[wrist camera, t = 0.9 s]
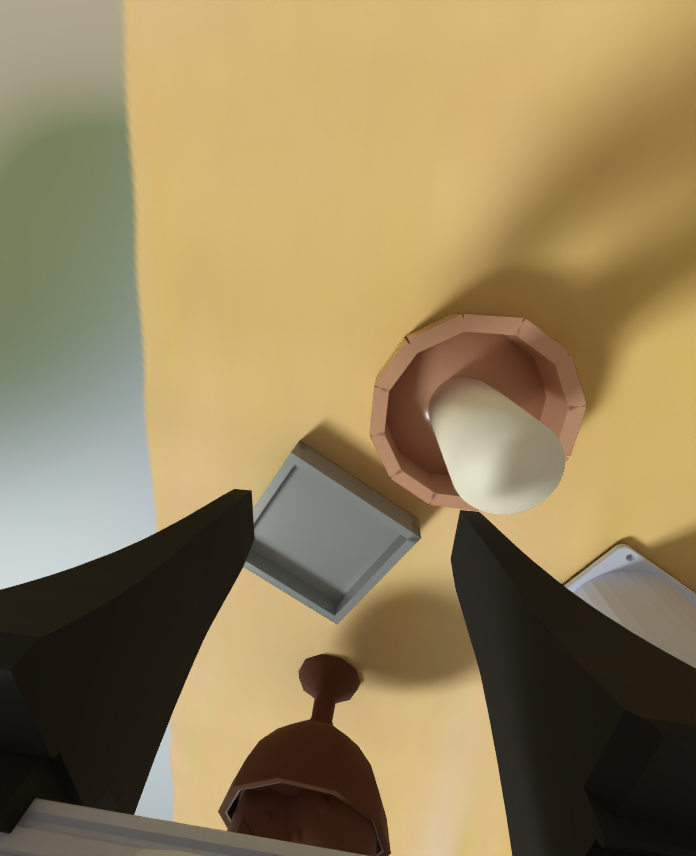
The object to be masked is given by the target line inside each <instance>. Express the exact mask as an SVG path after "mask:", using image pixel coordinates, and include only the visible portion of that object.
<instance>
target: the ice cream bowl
mask: <svg viewBox="0 0 696 856" xmlns="http://www.w3.org/2000/svg"><path fill="white" fill-rule="evenodd" d="M299 679H300V681H301V684H302V687H303V690H304V691H305V692H307V693H308V694H309V695H311V696H312V697H313V698H315V700H314V706H313V712H312V717H311V719H310V720H306V721H302V722H298V723H294V724H291V725H287V726H284V727H281V728H278V729H277V730H275V731H273V732H272V733H270V734H269V735H267V736H266V737H264V738H263V739H261V740H260V741H259V742H258V744H257V745H256V746H255V748H254V749H253V750H252V752H251V753H250V754H249V756H248V757H247V759H246V760H245V762H244V764H243V765H242V767H241V769H240V770H239V772H238V774H237V776H236V777H235V779H234V781H233V782H232V784H231V786H230V788H229V790H228V792H227V795H226V797H225V799H224V801H223V803H222V805H221V807H220V809H219V811H218V812H219V814H220V816H221V818H222V819H223V821H224V823H225V825H226V826H227V828H228V830H227V831H229V832H234V833H240V834H246V835H252V836H258V837H263V838H269V839H275V840H281V841H286V842H292V843H298V844H304V845H310V846H315V847H321V848H327V849H333V850H339V851H344V852H350V853H356V854H362V855H367V856H389V855H390V854H391V851H390V843H389V835H388V826H387V818H386V815H385V811H384V808H383V804H382V801H381V797H380V794H379V790H378V787H377V784H376V780H375V777H374V774H373V771H372V767H371V765H370V763H369V762H368V760H367V759H366V757H365V756H364V754H363V753H362V751H361V750H360V748H359V747H358V745H356V744H355V743H354V742H353V741H352V740H351V739H350V738H349V737H348V736H346V735H345V734H344V733H342V732H341V731H340V730H338V729H337V728H335V727H334V726H333V723H332V719H333V713H334V708H335V703H339V702H343V701H347V700H350V699H351V697H352V696H353V695H354V693H355V692H356V690H357V689H358V686H359V684H360V682H359V679H358V675H357V672H356V669H355V668H353V667H352V666H351V665H349V664H348V663H347V662H345V661H344V660H343V659H342V658H337V657H332V656H327V655H318V656H315V657H312V658H309V659H306V660H305V661H304V663H303V665H302V666H301V668H300V670H299Z"/></svg>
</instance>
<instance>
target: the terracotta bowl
mask: <svg viewBox="0 0 696 856" xmlns="http://www.w3.org/2000/svg"><path fill="white" fill-rule="evenodd" d="M406 337H407V339H406V338H403V340H402V341H401V343H400V344H399V345H398V347H397V348H396V349H395V351H394V352H393V354H392V355H391V356H390V358H389V359H388V361H387V362H386V363H385V365H384V366H383V368H382V369H381V370H380V372H379V373H378V375H377V377H376V382H375V386H374V394H373V404H372V415H371V425H370V438H371V440H372V442H373V444H374V446H375V448H376V451H377V453H378V455H379V457H380V459H381V461H382V463H383V465H384V467H385V469H386V471H387V473H388V475H389V477H391V479H392V480H393V481H395V482H396V483H398V484H399V485H401V486H402V487H404V488H405V489H407V490H408V491H410V492H411V493H413V494H414V495H416V496H417V497H418V498H420V499H421V500H423V501H424V502H426V503H427V504H429V503H430V504H431V505H435V506H443V507H450V508H458V509H466V510H474V511H478V510H479V509H476V508H474V507H473V506H471V505H469V504H468V503H467V502H465V501H464V500H463V499H462V498H461V497H460V496H459V494H458V493H457V491H456V490H455V488H454V486H453V483H452V480H451V477H450V475H449V472H448V469H447V466H446V463H445V461H444V458H443V455H442V452H441V450H440V447H439V444H438V441H437V438H436V436H435V433H434V430H433V427H432V424H431V422H430V419H429V414H428V406H429V401H430V399H431V396H432V395H433V393H434V391H435V390H436V389H437V388H438V387H439V386H440V385H441V384H442V383H444V382H445V381H447V380H449V379H451V378H454V377H458V376H474V377H477V378H480V379H482V380H483V381H485V382H487V383H488V384H489V385H491V386H492V387H493V388H495V389H496V390H498V391H499V392H500V393H502V394H503V395H504V396H506V397H507V398H509V399H510V400H511V401H513V402H514V403H515V404H517V405H518V406H520V407H521V408H522V409H524V410H525V411H526V412H528V413H529V414H531V415H532V416H533V417H535V418H536V419H537V420H539V421H540V422H542V423H543V424H544V425H546V426H547V427H548V428H549V429H551V430H552V431H553V432H554V433H555V435H556V436H557V437H558V439H559V440H560V442H561V444H562V447H563V450H564V454H565V462H566V461H567V460H568V459H569V458H568V457H566V456H571V453H572V450H573V447H574V444H575V441H576V438H577V435H578V432H579V428H580V425H581V422H582V419H583V416H584V413H585V410H586V407H585V406H584V405H586V401H585V398H584V394H583V391H582V388H581V384H580V381H579V377H578V374H577V371H576V367H575V364H574V360H573V357H572V354H569V353H570V352H569V351H568V350H567V349H565V348H564V347H563V346H561V345H560V344H559V343H557V342H556V341H555V340H553V339H552V338H551V337H550V336H548V335H547V334H546V333H544V332H543V331H542V330H540V329H539V328H538V327H536V326H535V325H534V324H532V323H531V322H530V321H528V320H527V319H523V318H518V317H503V316H489V315H475V314H450V315H448V316H446V317H444V318H442V319H440V320H438V321H436V322H434V323H432V324H430V325H427V326H425V327H423V328H421V329H419V330H417V331H415V332H413V333H411V334H409V335H407V336H406ZM480 511H481V510H480Z"/></svg>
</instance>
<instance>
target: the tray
mask: <svg viewBox="0 0 696 856" xmlns="http://www.w3.org/2000/svg"><path fill="white" fill-rule="evenodd" d="M253 521H254V536H255V539H254V541H253V544H252V547H251V549H250V552H249V554H248V557H247V559H246V562H245V564H244V566H243V567H244V568H246V569H248V570H249V571H251V572H253V573H254V574H256V575H257V576H259V577H261V578H262V579H264V580H265V581H267V582H269V583H270V584H272V585H274V586H275V587H277V588H278V589H280V590H282V591H283V592H285V593H287V594H288V595H290V596H291V597H293V598H295V599H296V600H298V601H300V602H301V603H303V604H304V605H306V606H308V607H309V608H311V609H313V610H314V611H316V612H317V613H319V614H321V615H322V616H324V617H326V618H327V619H329V620H330V621H332V622H334V623H335V624H338V623H339V622H340V621H341V620H342V619H343V618H344V617H345V616H346V615H347V614H348V613H349V612H350V611H351V610H352V609H353V608H354V606H355V605H356V604H357V603H358V602H359V601H360V600H361V599H362V598H363V597H364V596H365V595H366V594H367V593H368V592H369V591H370V590H371V589H372V588H373V587H374V586H375V585H376V584H377V583H378V582H379V581H380V580H381V579H382V578H383V577H384V576H385V575H386V574H387V572H388V571H389V570H390V569H391V568H392V567H393V566H394V565H395V564H396V563H397V562H398V561H399V560H400V559H401V558H402V557H403V556H404V555H405V554H406V553H407V552H408V551H409V550H410V549H411V548H412V547H413V546H414V545H415V544H416V543H417V542H418V541H419V540H420V539H421V536H420V528H419V520H418V519H416V518H415V517H413V516H412V515H410V514H409V513H407V512H406V511H404V510H403V509H401V508H400V507H398V506H397V505H395V504H394V503H392V502H391V501H389V500H388V499H386V498H385V497H383V496H382V495H380V494H379V493H377V492H376V491H374V490H373V489H371V488H370V487H368V486H367V485H365V484H364V483H362V482H361V481H359V480H358V479H356V478H355V477H353V476H352V475H350V474H349V473H347V472H346V471H344V470H343V469H341V468H340V467H338V466H337V465H335V464H334V463H332V462H331V461H329V460H328V459H326V458H325V457H323V456H322V455H320V454H319V453H317V452H316V451H314V450H313V449H311V448H310V447H308V446H307V445H305V444H304V443H302V442H301V441H299V442H298V443H297V445H296V446H295V448H294V449H293V450H292V452H291V453H290V455H289V456H288V458H287V459H286V461H285V462H284V464H283V465H282V467H281V468H280V470H279V471H278V473H277V474H276V476H275V477H274V478H273V480H272V481H271V483H270V484H269V486H268V487H267V489H266V490H265V492H264V493H263V495H262V496H261V498H260V499H259V501H258V502H257V504H256V505H255V507H254V508H253Z"/></svg>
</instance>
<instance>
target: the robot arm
mask: <svg viewBox="0 0 696 856" xmlns="http://www.w3.org/2000/svg"><path fill="white" fill-rule="evenodd" d="M254 539H255V536H254V521H253V506H252V491H250V490H240V489H234V490H232V491H230V492H228V493H226V494H224V495H223V496H221V497H219V498H218V499H216V500H214V501H213V502H211V503H209V504H207V505H206V506H204V507H202V508H201V509H199V510H197V511H196V512H194V513H192V514H190V515H189V516H187V517H185V518H183V519H182V520H180V521H178V522H176V523H174V524H172V525H170V526H168V527H167V528H165V529H163V530H161V531H159V532H157V533H155V534H153V535H151V536H149V537H147V538H145V539H143V540H141V541H139V542H137V543H134V544H132V545H130V546H127V547H125V548H123V549H121V550H118V551H116V552H114V553H111V554H109V555H106V556H103V557H101V558H98V559H95V560H93V561H90V562H87V563H85V564H82V565H80V566H77V567H74V568H71V569H68V570H65V571H62V572H59V573H56V574H53V575H50V576H47V577H43V578H40V579H37V580H33V581H30V582H27V583H23V584H20V585H16V586H13V587H9V588H5V589H1V590H0V856H367V855H362V854H356V853H350V852H344V851H339V850H333V849H327V848H321V847H315V846H310V845H304V844H298V843H292V842H286V841H281V840H275V839H269V838H263V837H258V836H252V835H246V834H240V833H234V832H229V831H223V830H217V829H211V828H205V827H200V826H194V825H188V824H182V823H177V822H171V821H165V820H159V819H153V818H147V817H141V816H136V815H134V813H135V811H136V808H137V805H138V802H139V800H140V797H141V794H142V791H143V789H144V786H145V783H146V781H147V778H148V775H149V772H150V770H151V767H152V764H153V761H154V759H155V756H156V754H157V751H158V748H159V746H160V743H161V741H162V738H163V736H164V733H165V731H166V728H167V725H168V723H169V720H170V718H171V715H172V713H173V710H174V708H175V705H176V703H177V701H178V698H179V696H180V693H181V691H182V688H183V686H184V684H185V681H186V679H187V676H188V674H189V672H190V669H191V667H192V665H193V663H194V660H195V658H196V656H197V654H198V651H199V649H200V647H201V644H202V642H203V640H204V638H205V636H206V634H207V632H208V630H209V628H210V626H211V624H212V622H213V621H214V619H215V617H216V615H217V613H218V612H219V610H220V608H221V606H222V604H223V603H224V601H225V599H226V597H227V595H228V594H229V592H230V590H231V588H232V586H233V585H234V583H235V581H236V579H237V577H238V575H239V574H240V572H241V570H242V568H243V566H244V564H245V562H246V559H247V557H248V554H249V552H250V549H251V547H252V544H253V541H254ZM627 555H629V556H628V557H626V556H627ZM451 564H452V571H453V577H454V582H455V588H456V592H457V595H458V599H459V602H460V605H461V609H462V612H463V616H464V619H465V622H466V626H467V629H468V632H469V635H470V639H471V642H472V645H473V649H474V652H475V655H476V659H477V663H478V667H479V671H480V674H481V679H482V684H483V689H484V694H485V699H486V704H487V708H488V713H489V719H490V724H491V729H492V735H493V740H494V746H495V751H496V756H497V762H498V768H499V774H500V780H501V786H502V792H503V798H504V804H505V810H506V816H507V823H508V829H509V836H510V843H511V849H512V856H696V593H695V592H693V591H692V590H690V589H689V588H687V587H686V586H685V585H683V584H682V583H680V582H679V581H678V580H676V579H675V578H673V577H672V576H670V575H669V574H668V573H666V572H665V571H663V570H662V569H660V568H659V567H658V566H656V565H655V564H653V563H652V562H651V561H649V560H648V559H646V558H645V557H643V556H642V555H641V554H639V553H638V552H636V551H635V550H634V549H632V548H631V547H629V546H628V545H626V544H618V545H616V546H615V547H613V548H612V549H611V550H609V551H608V552H607V553H606V554H604V555H603V556H602V557H600V558H599V559H598V560H597V561H595V562H594V563H593V564H591V565H590V566H589V567H587V568H586V569H585V570H584V571H582V572H581V573H580V574H578V575H577V576H576V577H574V578H573V579H572V580H571V581H569V582H568V583H567V584H565V585H564V586H563V585H562V584H561V583H559V582H558V581H557V580H555V579H554V578H553V577H552V576H551V575H549V574H548V573H547V572H546V571H544V570H543V569H542V568H541V567H540V566H538V565H537V564H536V563H535V562H534V561H532V560H531V559H530V558H529V557H528V556H527V555H525V554H524V553H523V552H522V551H521V550H520V549H519V548H518V547H517V546H515V545H514V544H513V543H512V542H511V541H510V540H509V539H508V538H507V537H506V536H505V535H504V534H502V533H501V532H500V531H499V530H498V529H497V528H496V527H495V526H494V525H493V524H492V523H491V522H490V521H489V520H488V519H487V518H485V517H484V516H483V515H482V514H481V513H480V512H475V511H464V510H460V514H459V519H458V524H457V529H456V534H455V539H454V545H453V550H452V555H451Z"/></svg>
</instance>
